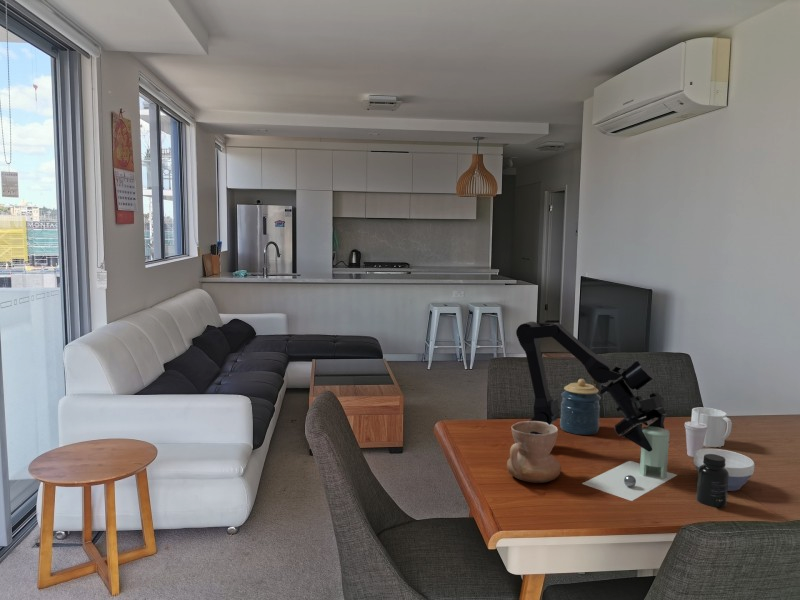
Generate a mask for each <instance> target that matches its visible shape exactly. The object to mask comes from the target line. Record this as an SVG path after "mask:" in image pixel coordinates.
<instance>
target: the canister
mask: <svg viewBox="0 0 800 600" xmlns="http://www.w3.org/2000/svg"><path fill="white" fill-rule="evenodd" d="M563 389H564V391H563V392H561V397H562V400H561V401H562V402H560V420H559V425H560V429H561V430H562V431H564V432H567V433H569V434H573V435H579V436H580V435H582V436H589V435H595V434H597V433H598V432H599V429H600V410H601V405H600V401H601V396H600V395H599V394H598V393H600V391H599V389H598V388H597V387H595V385H593V384H590V383H587V382H586V380H585V378H579V379H578V380H577V382H571V383H568V385H565V386H563Z"/></svg>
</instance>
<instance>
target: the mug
mask: <svg viewBox="0 0 800 600" xmlns="http://www.w3.org/2000/svg"><path fill="white" fill-rule="evenodd" d="M698 410H699V411H700V420H699V422H700V423H703V424H706V425H707V426H708V428H707V430H706V434H705V438H704V443H703V447H704V446H705V448H710V447H719V448H722V447H721V446H723V447H724V446H725V442H726V441H725V440H726V439H727V438H728V437H730V434H731V431H732V426H733V423H732V420H731V419H730V417H727V415H728V413H727V412H725V411H723V410H720V409H718V408H712V407H700V406H699V407H693V408H692V409H691V421H690V422H697V419H698Z"/></svg>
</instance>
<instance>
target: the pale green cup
mask: <svg viewBox="0 0 800 600" xmlns="http://www.w3.org/2000/svg"><path fill="white" fill-rule="evenodd" d="M642 432H643V434H644V435H645V437H646V439H647V440H648V442H649V444H650V446H651V448H652V451H650V452H649V451H647V450H645V449H644V448H642V447H641V446H640V460H639V464H640V474H641V475H643V476H646V471H647V470H651V471H657V472H660V473H661V477H660V478H662V479H664V478H666V476H667V472H668V459H669V444H670V430H668V429H666V428H665V429H663V428H659V427H647V426H644V427H643V426H642Z"/></svg>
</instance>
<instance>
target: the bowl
mask: <svg viewBox="0 0 800 600" xmlns="http://www.w3.org/2000/svg"><path fill="white" fill-rule="evenodd" d="M706 454H715V455H719V456H722V457H724V458H725V467H724V468H725V469H726V470H727V471H728V473H729V479H728V491H727V492H735V491H738V490H740V489H741V488H742V486H744V485H746V483H747V482H748V480H749V479H750V478H751V477H752V475H753V474H754V472H755V461H754V460H753V459H751V458H750V457H749V456H747V455H744V454H741V453H739V452H735V451H732V450H727V449H719V448H702V449H700V450H697V451H696V452H695V453H694V457H693V464H694V466H695V468H696V470H697V471H698V469H699V467H700V466H701V465H703V464H704V463H703V460H704V455H706Z"/></svg>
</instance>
